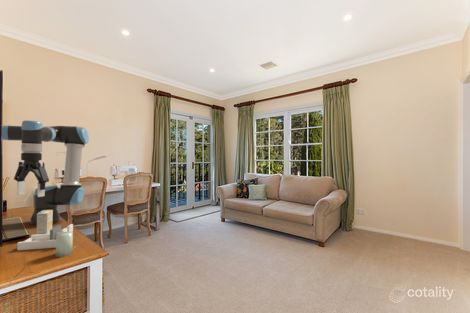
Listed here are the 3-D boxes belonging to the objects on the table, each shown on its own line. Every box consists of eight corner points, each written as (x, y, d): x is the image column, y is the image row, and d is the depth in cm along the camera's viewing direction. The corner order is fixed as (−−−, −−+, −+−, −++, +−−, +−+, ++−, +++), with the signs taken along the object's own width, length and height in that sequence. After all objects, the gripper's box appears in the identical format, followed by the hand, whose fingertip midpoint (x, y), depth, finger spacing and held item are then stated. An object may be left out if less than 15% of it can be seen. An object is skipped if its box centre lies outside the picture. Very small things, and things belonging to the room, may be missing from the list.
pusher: (58, 238, 116) (58, 224, 116) (71, 237, 118) (71, 224, 118) (49, 244, 108) (49, 230, 108) (64, 243, 110) (64, 229, 110)
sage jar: (59, 251, 103) (60, 232, 103) (74, 250, 105) (75, 231, 105) (52, 257, 98) (53, 236, 98) (68, 256, 99) (69, 235, 99)
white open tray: (31, 241, 114) (32, 225, 114) (72, 238, 119) (73, 223, 119) (17, 250, 104) (17, 232, 104) (62, 247, 108) (63, 230, 108)
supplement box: (41, 233, 126) (42, 210, 127) (52, 232, 128) (53, 209, 128) (35, 238, 119) (36, 213, 119) (47, 237, 121) (47, 212, 121)
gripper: (4, 151, 110) (3, 194, 110) (41, 152, 103) (41, 198, 104) (22, 151, 117) (22, 192, 118) (58, 153, 111) (57, 196, 111)
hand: (30, 195), depth 111 cm, fingers open, 13 cm apart
